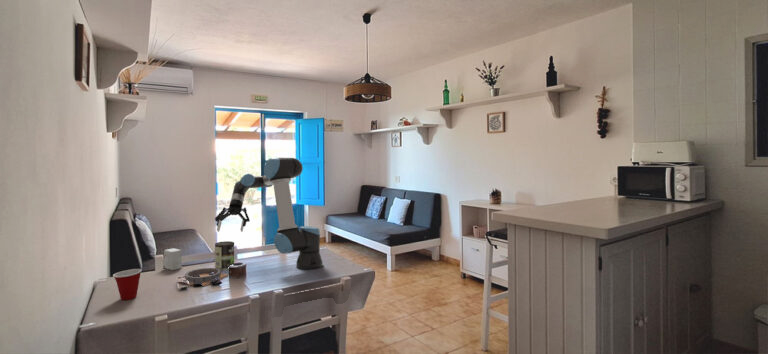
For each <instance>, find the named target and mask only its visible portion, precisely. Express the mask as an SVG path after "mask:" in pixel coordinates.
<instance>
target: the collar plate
mask: <svg viewBox="0 0 768 354" xmlns="http://www.w3.org/2000/svg"><path fill="white" fill-rule="evenodd" d="M211 272H214V273H216V274H213V275H209V273H211ZM194 274H199V275H200V277H193V275H194ZM216 277H219V279H220V280H223V279H225V278H228V277H229V274H228V273H222V270H219V269H217V268H215V267H203V268H198V269H197V268H196V269H192V270H190V271H187V272H186V273H185V274H184V278H185V279H186V280H188V281H189V283H190V284H189V285H193V284H194V282H202V284H201V285H202V286H201V287H206V286H209V285H211V284H210V282H211V280H212V279H214V278H216ZM178 280H179V279H177V280H176V282H177V281H178ZM193 286H194V285H193Z"/></svg>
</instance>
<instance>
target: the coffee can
mask: <svg viewBox="0 0 768 354" xmlns="http://www.w3.org/2000/svg"><path fill="white" fill-rule="evenodd" d="M214 250H215V252H214V261H215V263H214V264H215V265H214V266H215V267H214V268H217V269H219V270H221V271H225V270H229V269H228V267H229V266H230V265H232V264H234V265H235V242H234V241H230V240H229V241H226V240H225V241H219V242H215V243H214Z"/></svg>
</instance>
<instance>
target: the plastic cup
mask: <svg viewBox="0 0 768 354" xmlns="http://www.w3.org/2000/svg"><path fill="white" fill-rule="evenodd" d="M142 272H143V271H142V269H141V268H132V269H127V270H126V269H125V270H122V271H118V272H115V273H114V274H112V276H113V278H114V280H115V282H116V287H117V290H118V293H119V297H120V300H121V301H129V300H133V299H136V298H137V296H138V290H139V284H140V279H141V273H142Z"/></svg>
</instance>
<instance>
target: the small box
mask: <svg viewBox="0 0 768 354" xmlns="http://www.w3.org/2000/svg"><path fill="white" fill-rule="evenodd" d="M163 252H164V253H163V254H164V259H163V260H164V269H167V270H169V269H170V270H171V271H174V270H176V271H177V270H178V269H179V270H180V269H182V268H183V266H182V265H183V263H182V261H183V260H182V249H178V248H168V249H164V251H163Z"/></svg>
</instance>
